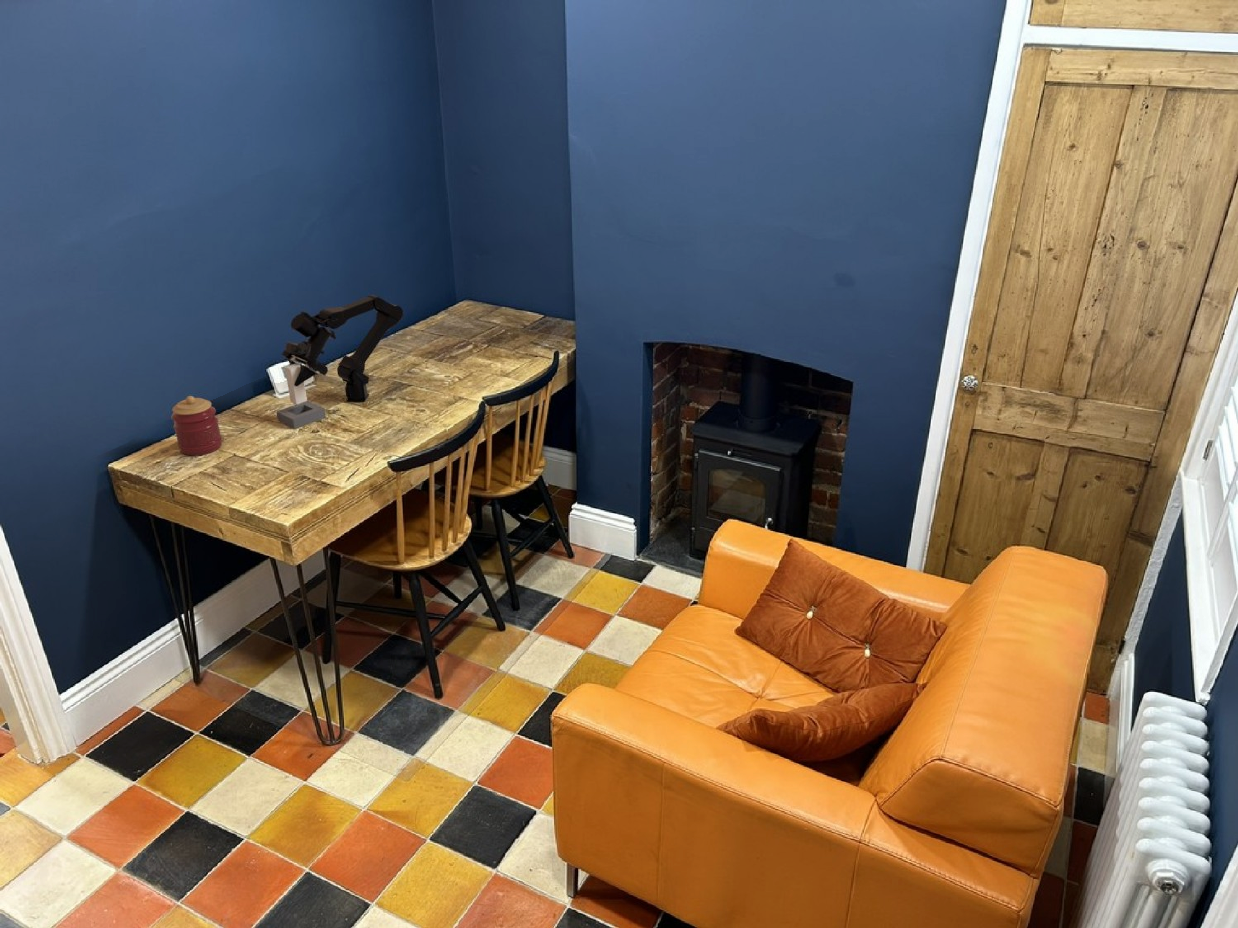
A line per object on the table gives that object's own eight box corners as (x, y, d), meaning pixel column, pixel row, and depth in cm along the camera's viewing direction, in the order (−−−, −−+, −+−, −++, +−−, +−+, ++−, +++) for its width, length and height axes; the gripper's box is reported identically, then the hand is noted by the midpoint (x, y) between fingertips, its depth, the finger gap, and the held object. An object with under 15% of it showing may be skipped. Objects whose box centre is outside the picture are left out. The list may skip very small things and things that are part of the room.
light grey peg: (301, 398, 318) (295, 363, 312) (307, 400, 315) (301, 366, 310) (290, 401, 315) (284, 367, 309) (296, 404, 313) (290, 369, 307)
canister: (198, 459, 292) (185, 407, 284) (170, 451, 297) (157, 399, 289) (232, 443, 302) (221, 393, 294) (204, 435, 307) (193, 385, 299)
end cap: (309, 409, 325) (307, 400, 323) (325, 417, 319) (324, 408, 318) (278, 421, 317) (276, 411, 315) (294, 429, 311) (293, 419, 310)
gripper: (281, 326, 312) (258, 366, 310) (314, 338, 302) (289, 380, 299) (306, 342, 321) (283, 381, 319) (338, 354, 311) (315, 395, 308)
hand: (292, 384), depth 311 cm, fingers closed on light grey peg, 3 cm apart
